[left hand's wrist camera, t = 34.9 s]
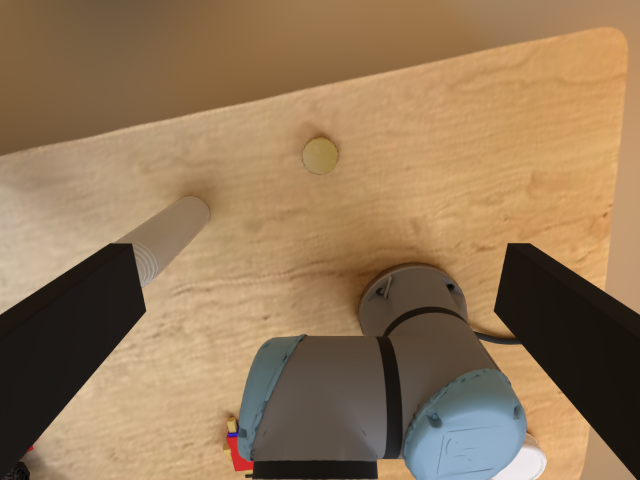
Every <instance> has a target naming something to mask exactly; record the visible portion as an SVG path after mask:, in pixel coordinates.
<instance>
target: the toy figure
mask: <svg viewBox="0 0 640 480" xmlns="http://www.w3.org/2000/svg"><path fill="white" fill-rule="evenodd" d="M227 425H228V429H229V432H228V435H227V442H228V444H224V447H223V451H224V453H225V454H226V456H227V457H228V459H229V460H230V461H233V465H234V469H235V471H245V474H246V475H245V477H246V478H251V477H252V475H253V463H254V461H250V462H248V461H247V460H246V459H244V458H242V457H241V456H240V455H239V452H238V446H237V438H238V432H239V427H237V424H236V420H235V417H232V418H228V420H227Z"/></svg>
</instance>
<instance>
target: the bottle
mask: <svg viewBox="0 0 640 480" xmlns="http://www.w3.org/2000/svg"><path fill="white" fill-rule="evenodd" d="M209 219H210V211H209V208H208V206H207V205H206V203H205V202H204V201H202V200H201V199H199V198H197V197H194V196H186V197H183V198H181V199H179V200H178V201H176V202H175V203H173V204H172V205H170V206H169V207H167V208H166V209H164V210H163V211H161V212H160V213H158V214H157V215H155V216H154V217H152V218H151V219H149V220H148V221H146V222H145V223H143V224H142V225H140V226H139V227H137V228H136V229H134V230H133V231H131V232H129V233H128V234H126V235H125V236H123V237H122V238H120V239H119V240H117V241H116V242H114V243H132V245H133V250H134V255H135V259H136V264H137V269H138V274H139V279H140V283H141V288H142V287H144V286H146V285H148V284H150V283H151V282H152V281H153V280H154V279H155V278H156V277H157V276H158V275H159V274H160V273H161V272H162V271H163V270H164V269H165V268H166V266H167V265H168V264H169V263H170V262H171V261H172V260H173V259H174V258H175V257H176V256H177V255H178V254H179V253H180V252H181V251H182V250H183V249H184V248H185V247H186V246H187V245H188V244H189V243H190V242H191V240H192V239H193V238H194V237H195V236H196V235H197V234H198V233H199V232H200V231H201V230H202V229H203V228H204V227H205V226H206V225H207V224H208V222H209Z"/></svg>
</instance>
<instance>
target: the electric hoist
mask: <svg viewBox="0 0 640 480" xmlns="http://www.w3.org/2000/svg"><path fill="white" fill-rule="evenodd" d="M32 449H33V446H31V447H30V449H29V450H28V451H30V450H32ZM28 451H27V452H28ZM29 477H30V472H29V471H28V469H27V467H26V465H25V464H24V463H23V462H18V463H17V464H16V465H15V466H14V467H13V469H12V470H11V471H10V472H9V473H8V474H7V476H6V477H5V478H4V479H3V480H29Z"/></svg>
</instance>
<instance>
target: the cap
mask: <svg viewBox="0 0 640 480" xmlns="http://www.w3.org/2000/svg"><path fill="white" fill-rule="evenodd" d="M337 152H338V151H337V149H336V146H335V145H334V143H333V142H332V141H330V139H327V138H325V137H321V136H320V137H315V138H313V139H311V140H310V141H309V142H307V144H306V145H305V147H304V149H303V154H302V159H303V163H304V165H305V167H306V168H307V169H308V170H309V171H310V172H312V173H314V174H319V175H321V174H326V173H328V172H330V171H331V170H332V169H333V168H334V167H335V166H336V164H337V160H338V153H337Z"/></svg>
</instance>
